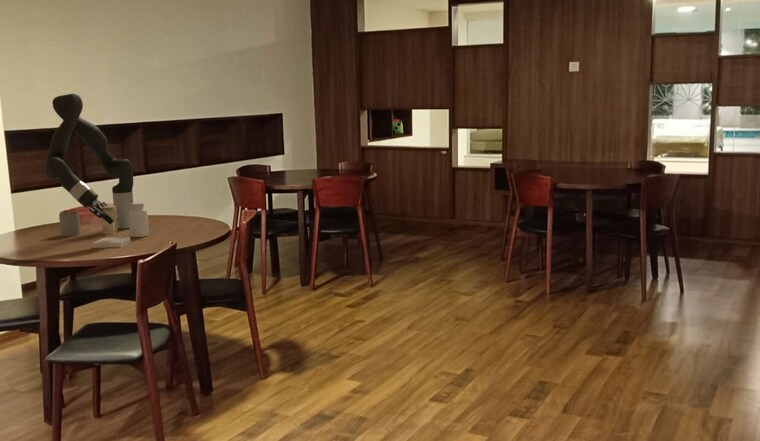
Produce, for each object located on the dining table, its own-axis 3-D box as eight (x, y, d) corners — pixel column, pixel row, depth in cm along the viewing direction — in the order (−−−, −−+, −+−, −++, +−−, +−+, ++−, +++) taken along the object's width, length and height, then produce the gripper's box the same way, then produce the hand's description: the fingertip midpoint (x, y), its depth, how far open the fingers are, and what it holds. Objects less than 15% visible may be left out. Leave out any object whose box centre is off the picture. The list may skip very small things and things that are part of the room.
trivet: (103, 242, 329) (102, 237, 329) (130, 241, 329) (130, 237, 329) (92, 247, 318) (92, 243, 317) (121, 247, 317) (120, 242, 317)
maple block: (107, 231, 325) (105, 206, 323) (117, 231, 325) (115, 206, 323) (103, 233, 320) (101, 207, 319) (113, 233, 320) (111, 207, 318)
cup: (73, 236, 346) (71, 215, 345) (57, 236, 348) (55, 214, 346) (84, 233, 354) (82, 212, 353) (68, 233, 356) (66, 212, 354)
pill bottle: (152, 234, 345) (150, 202, 343) (141, 238, 338) (139, 204, 335) (138, 234, 348) (135, 201, 345) (126, 237, 340) (124, 204, 338)
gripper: (82, 189, 312) (114, 218, 314) (95, 186, 327) (125, 213, 328) (71, 202, 313) (102, 231, 315) (84, 198, 327) (114, 225, 329)
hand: (114, 221), depth 322 cm, fingers closed on maple block, 4 cm apart
